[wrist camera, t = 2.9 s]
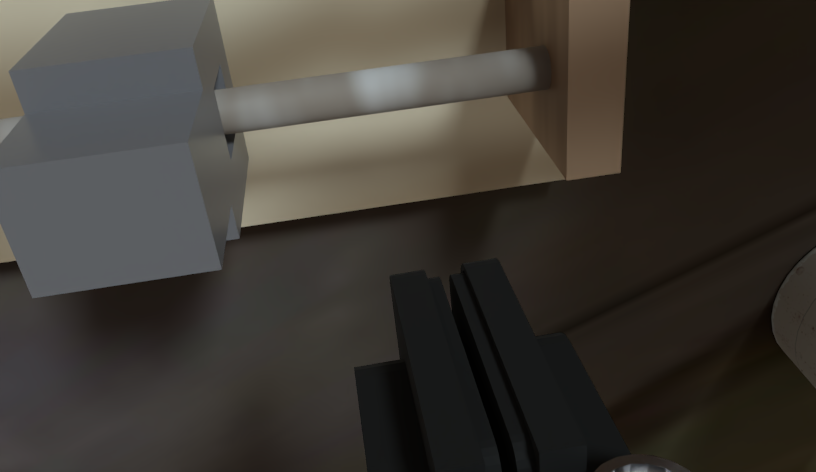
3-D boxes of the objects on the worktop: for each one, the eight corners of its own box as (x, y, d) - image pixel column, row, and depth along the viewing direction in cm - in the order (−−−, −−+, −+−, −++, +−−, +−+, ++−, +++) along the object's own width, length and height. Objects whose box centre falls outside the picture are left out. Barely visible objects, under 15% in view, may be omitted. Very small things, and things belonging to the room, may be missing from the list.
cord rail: (-648, -57, 21) (-1150, 25, 14) (560, -196, 23) (684, -190, 16) (-374, 297, 27) (-618, 484, 20) (557, 161, 29) (646, 284, 22)
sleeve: (66, 13, 21) (-44, 122, 14) (212, -5, 21) (175, 92, 14) (118, 176, 23) (48, 335, 17) (248, 157, 24) (231, 306, 17)
